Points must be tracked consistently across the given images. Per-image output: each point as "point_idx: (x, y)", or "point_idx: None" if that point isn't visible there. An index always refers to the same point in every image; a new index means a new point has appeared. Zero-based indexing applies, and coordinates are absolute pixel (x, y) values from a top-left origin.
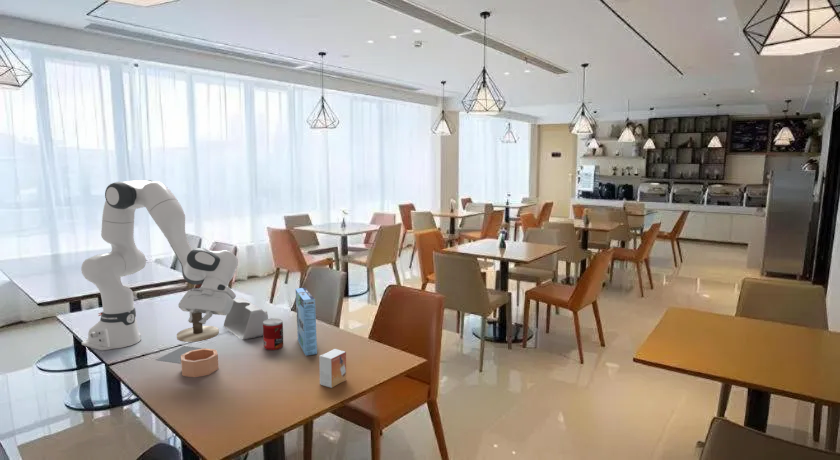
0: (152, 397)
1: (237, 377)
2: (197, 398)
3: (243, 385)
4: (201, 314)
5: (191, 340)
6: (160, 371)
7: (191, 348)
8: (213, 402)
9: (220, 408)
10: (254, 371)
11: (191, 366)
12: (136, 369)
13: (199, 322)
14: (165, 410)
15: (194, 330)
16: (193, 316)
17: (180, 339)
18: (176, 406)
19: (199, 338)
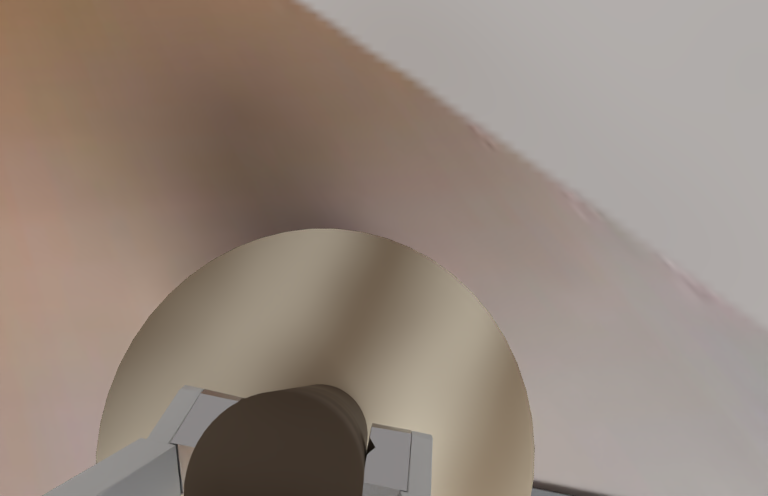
0: (412, 104)
1: (92, 336)
2: (208, 110)
3: (32, 247)
4: (189, 490)
5: (288, 236)
6: (565, 370)
7: None
8: (123, 85)
9: (75, 44)
10: (13, 426)
11: None
12: (719, 383)
13: (236, 396)
14: (292, 16)
15: (328, 386)
16: (307, 392)
17: (405, 249)
18: (265, 45)
19: (216, 258)
